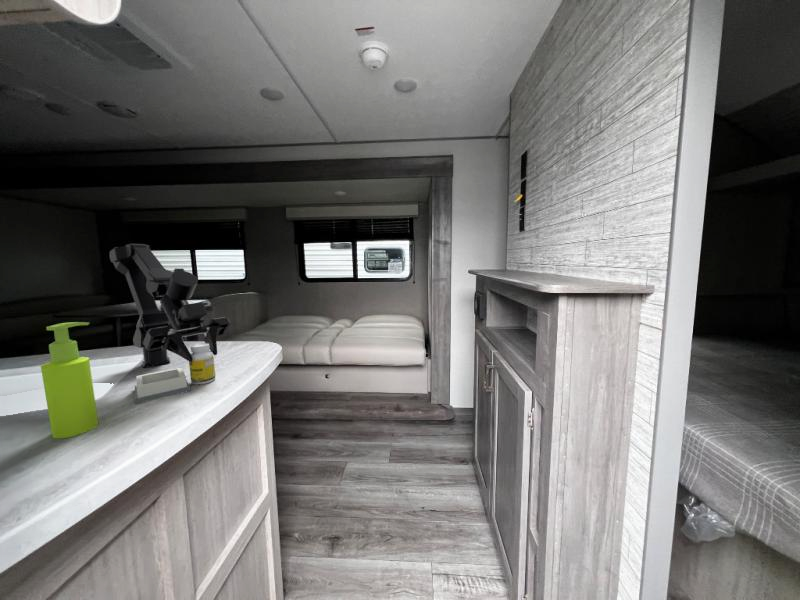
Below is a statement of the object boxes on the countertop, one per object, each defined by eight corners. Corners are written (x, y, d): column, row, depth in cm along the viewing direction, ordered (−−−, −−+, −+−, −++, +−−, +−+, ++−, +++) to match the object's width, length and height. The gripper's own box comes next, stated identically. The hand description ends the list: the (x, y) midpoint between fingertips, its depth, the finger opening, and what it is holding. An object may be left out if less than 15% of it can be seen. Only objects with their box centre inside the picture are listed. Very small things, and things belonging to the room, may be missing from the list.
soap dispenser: (112, 419, 60) (98, 320, 57) (71, 439, 53) (54, 328, 51) (86, 418, 61) (71, 319, 58) (42, 437, 54) (23, 327, 51)
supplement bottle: (185, 384, 77) (182, 346, 76) (204, 376, 82) (201, 341, 81) (202, 386, 76) (198, 348, 75) (220, 378, 81) (217, 342, 80)
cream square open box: (135, 389, 74) (133, 375, 74) (185, 379, 81) (183, 366, 80) (135, 403, 67) (133, 388, 66) (190, 390, 73) (188, 376, 73)
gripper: (143, 295, 70) (169, 347, 66) (224, 288, 86) (250, 331, 82) (133, 325, 75) (157, 375, 71) (211, 313, 91) (235, 354, 87)
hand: (204, 357), depth 78 cm, fingers open, 6 cm apart
